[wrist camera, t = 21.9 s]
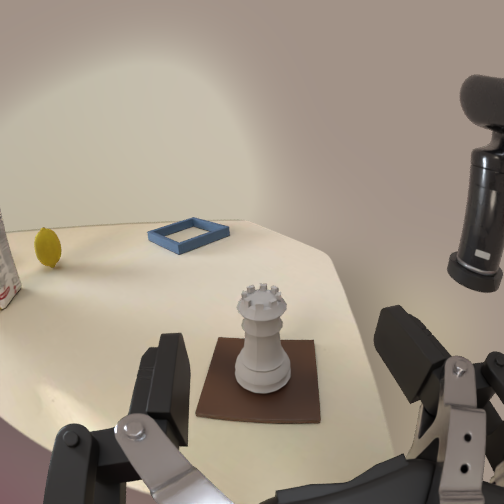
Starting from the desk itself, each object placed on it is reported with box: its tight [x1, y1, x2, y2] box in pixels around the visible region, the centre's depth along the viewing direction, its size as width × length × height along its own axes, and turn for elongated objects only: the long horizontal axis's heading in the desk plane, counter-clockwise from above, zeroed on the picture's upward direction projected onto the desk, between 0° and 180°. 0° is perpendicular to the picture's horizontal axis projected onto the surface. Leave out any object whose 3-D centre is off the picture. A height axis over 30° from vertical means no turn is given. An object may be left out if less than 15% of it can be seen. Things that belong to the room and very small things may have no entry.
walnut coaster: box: [196, 337, 321, 423], centre depth 21 cm, size 9×9×1 cm
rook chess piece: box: [235, 284, 291, 393], centre depth 19 cm, size 4×4×8 cm
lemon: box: [34, 227, 61, 268], centre depth 40 cm, size 6×6×8 cm
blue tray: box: [147, 217, 230, 255], centre depth 52 cm, size 12×12×2 cm
